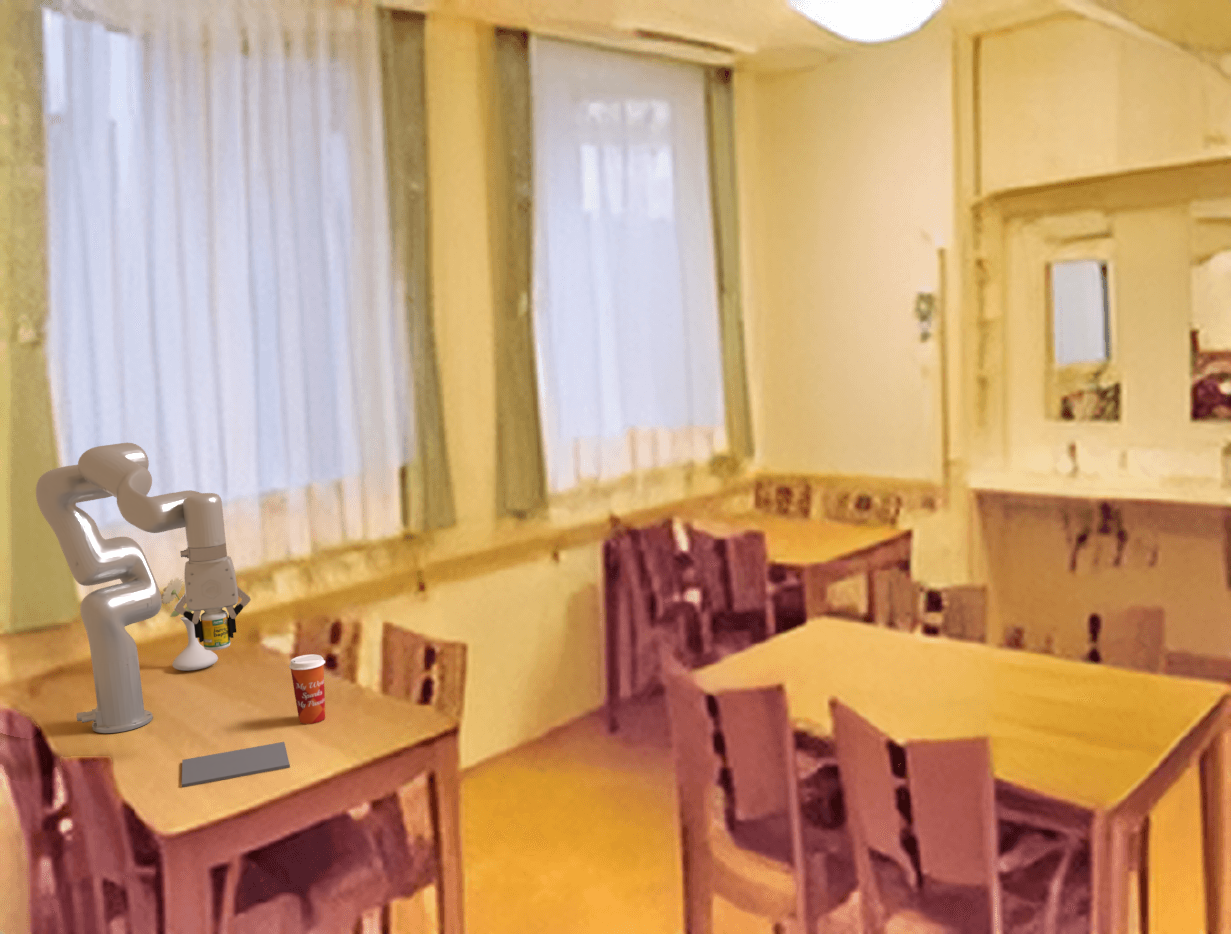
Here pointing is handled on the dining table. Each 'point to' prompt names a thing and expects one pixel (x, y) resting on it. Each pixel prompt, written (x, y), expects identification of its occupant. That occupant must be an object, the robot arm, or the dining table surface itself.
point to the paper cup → (309, 687)
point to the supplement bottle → (215, 629)
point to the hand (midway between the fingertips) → (216, 637)
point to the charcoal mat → (234, 764)
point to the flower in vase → (194, 652)
